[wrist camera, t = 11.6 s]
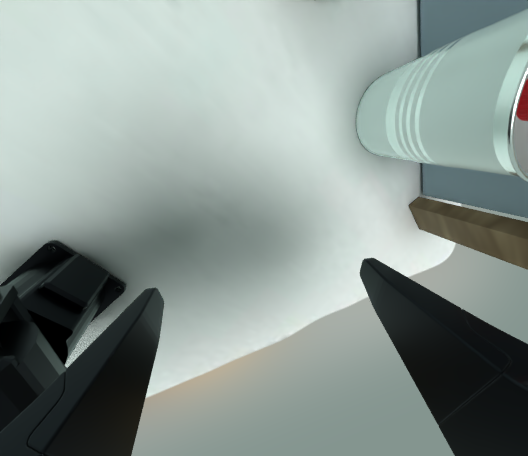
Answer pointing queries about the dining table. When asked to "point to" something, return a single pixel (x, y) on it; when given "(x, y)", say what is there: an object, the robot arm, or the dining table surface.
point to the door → (456, 179)
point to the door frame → (474, 229)
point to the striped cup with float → (456, 104)
